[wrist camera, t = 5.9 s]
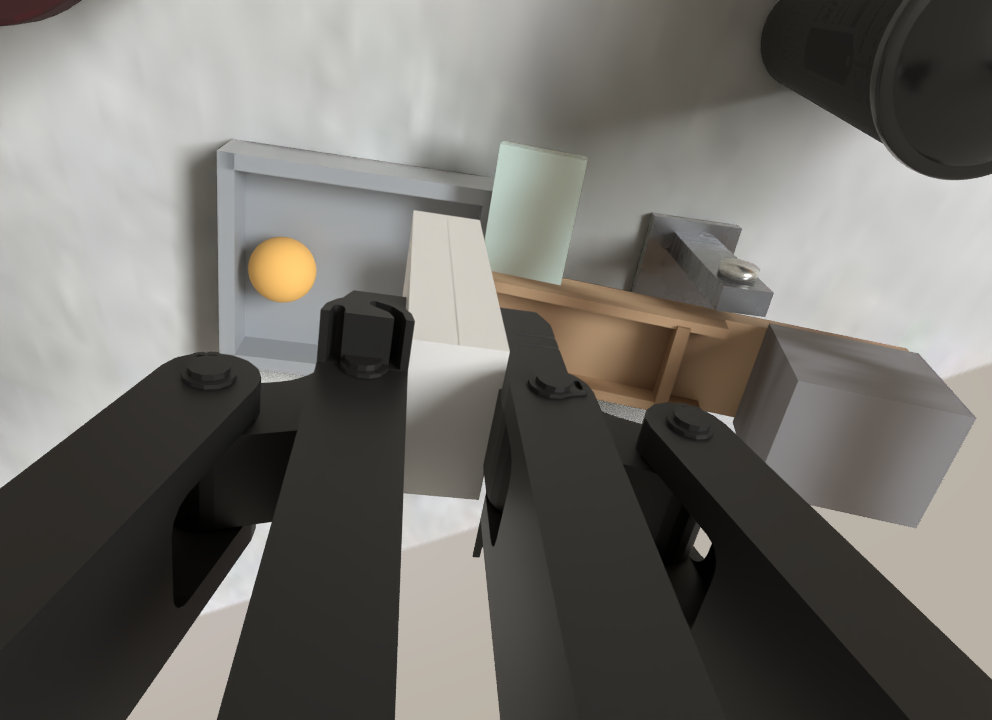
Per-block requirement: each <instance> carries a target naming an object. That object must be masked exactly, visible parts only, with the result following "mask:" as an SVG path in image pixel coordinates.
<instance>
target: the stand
mask: <svg viewBox="0 0 992 720" xmlns="http://www.w3.org/2000/svg"><path fill="white" fill-rule="evenodd" d="M741 230H742V228H740V227H739V226H738V225H732V224H725V223H718V222H711V221H704V220H698V219H691V218H684V217H677V216H670V215H664V214H657V213H652V215H651V219H650V222H649V226H648V230H647V234H646V237H645V241H644V245H643V249H642V252H641V256H640V260H639V264H638V267H637V271H636V275H635V279H634V282H633V286H632V290H631V292H633V293H638V294H643V295H648V296H653V297H658V298H663V299H667V300H672V301H677V302H682V303H687V304H692V305H697V306H702V307H706V308H711V309H715V310H716V311H724V312H731V313H739V314H747V315H754V316H762V317H765V316H766V313H767V310H768V308H769V305H770V302H771V299H772V297H773V294H774V293H773V292H772V291H771V290H770V289H769V288H768V287H767V286H766V285H765V284H764V283H763V282H762V281H761V280H760V279H759V278H758V274H759V271H760V269H759V267H757V266H756V265H754V264H752V263H749V262H747V261H744V260H740V259H738V258H737V257H735V256H734V255H733V254H734V251H735V248H736V245H737V242H738V239H739V236H740V233H741ZM705 412H707V411H705ZM707 413H708V412H707Z"/></svg>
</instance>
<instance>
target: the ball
mask: <svg viewBox="0 0 992 720" xmlns="http://www.w3.org/2000/svg"><path fill="white" fill-rule="evenodd" d="M248 273H249V278H250V280H251V283H252V285H253V286H254V288H255V289H256V290H257V291H258V292H259V293H260V294H261V295H262V296H264V297H265V298H267V299H269V300H272V301H275V302H281V303H286V302H292V301H295V300H298V299H300V298H301V297H303V296H304V295H306V294H307V293H308V292H309V290H310V289H311V288H312V286H313V284H314V282H315V278H316V263H315V260H314V257H313V255H312V254H311V252H310V251H309V249H308V248H307V247H306V246H305V245H303V244H302V243H301V242H299V241H297V240H295V239H292V238H289V237H273V238H270V239H267V240H265V241H264V242H262V243H261V244H259V245H258V246H257V247H256V248H255V250H254V251H253V253H252V254H251V256H250V259H249V264H248Z"/></svg>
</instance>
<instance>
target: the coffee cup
mask: <svg viewBox="0 0 992 720" xmlns="http://www.w3.org/2000/svg"><path fill="white" fill-rule="evenodd" d="M80 1H81V0H0V26H9V25H18V24H24V23H30V22H36V21H41V20H44V19H47V18H49V17H52V16H55V15H57V14H59V13H61V12H63V11H66V10H68V9H69V8H71V7H72V6H74V5H75V4H77V3H78V2H80Z"/></svg>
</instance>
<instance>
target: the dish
mask: <svg viewBox="0 0 992 720" xmlns="http://www.w3.org/2000/svg"><path fill="white" fill-rule="evenodd" d="M494 179H495V178H490V177H483V176H476V175H470V174H463V173H456V172H450V171H443V170H436V169H430V168H423V167H416V166H409V165H403V164H396V163H389V162H383V161H376V160H369V159H363V158H356V157H349V156H342V155H336V154H329V153H322V152H316V151H309V150H302V149H296V148H289V147H282V146H275V145H269V144H262V143H255V142H249V141H242V140H235V139H232V140H230V141H229V142H228V143H226V144H225V145H224V146H222V147H221V148H220V149H218V150H217V213H218V290H219V353H221V354H227V355H233V356H236V357H239V358H242V359H245V360H247V361H249V362H250V363H252V364H253V365H254V366H256V367H257V368H258V370H259V371H268V372H277V373H286V374H295V375H305V376H307V375H309V374H311V373H313V372H314V369H315V365H316V362H317V350H318V337H319V324H320V311H321V308H322V307H323V306H324V305H325V304H326V303H327V302H330V301H332V300H335V299H337V298H343V297H344V296H346V295H347V294H349V293H350V292H352V291H353V290H356V291H364V292H371V293H379V294H387V295H394V296H403V288H404V280H405V273H406V265H407V257H408V250H409V242H410V234H411V227H412V219H413V211H414V210H416V211H422V212H429V213H436V214H442V215H449V216H456V217H462V218H469V219H475V220H480V223H481V228H482V232H483V236H484V241H485V235H486V229H487V222H488V216H489V210H490V204H491V198H492V191H493V185H494ZM273 237H289V238H292V239H295V240H297V241H299V242H301V243H302V244H303V245H305V246H306V247H307V248H308V249H309V251H310V252H311V254H312V255H313V257H314V260H315V263H316V278H315V282H314V284H313V286H312V288H311V289H310V290H309V292H308V293H307V294H306V295H304V296H303V297H301V298H300V299H298V300H295V301H292V302H286V303H281V302H275V301H272V300H269V299H267V298H265V297H264V296H262V295H261V294H260V293H259V292H258V291H257V290H256V289H255V288H254V286H253V285H252V283H251V280H250V278H249V273H248V264H249V259H250V256H251V254H252V253H253V251H254V250H255V248H256V247H257V246H258V245H259V244H261V243H262V242H264V241H265V240H267V239H270V238H273Z"/></svg>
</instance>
